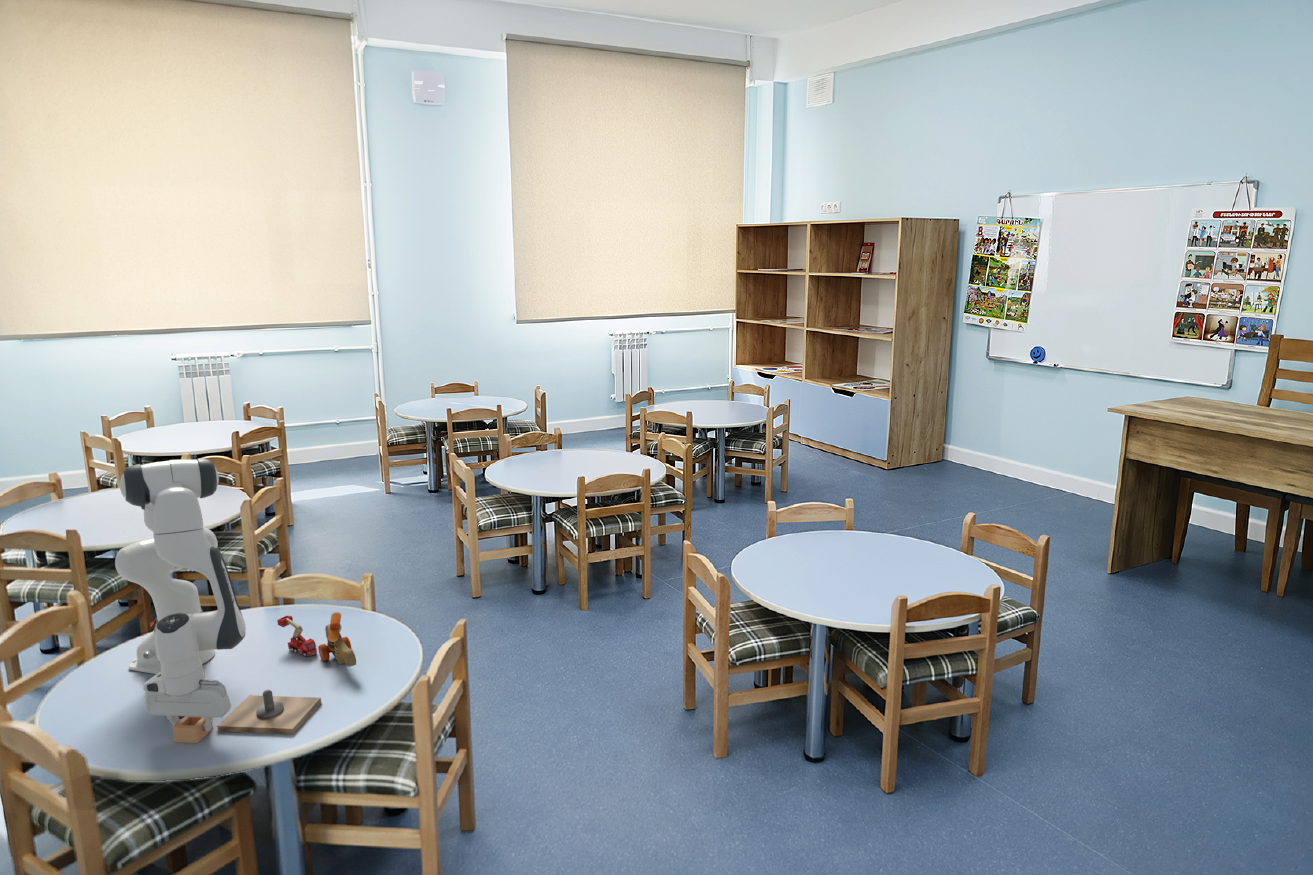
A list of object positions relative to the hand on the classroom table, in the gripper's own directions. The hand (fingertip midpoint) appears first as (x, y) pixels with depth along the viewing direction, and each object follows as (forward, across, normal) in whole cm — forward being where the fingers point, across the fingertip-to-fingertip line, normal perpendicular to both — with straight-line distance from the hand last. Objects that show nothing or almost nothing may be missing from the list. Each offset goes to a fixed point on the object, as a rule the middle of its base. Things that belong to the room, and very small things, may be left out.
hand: (193, 729), depth 204 cm
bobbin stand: (+2, -15, -9) cm, 18 cm away
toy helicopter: (+2, -21, -36) cm, 42 cm away
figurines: (+2, +10, -10) cm, 14 cm away
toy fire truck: (+2, -4, -43) cm, 43 cm away
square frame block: (+2, 0, 0) cm, 2 cm away
